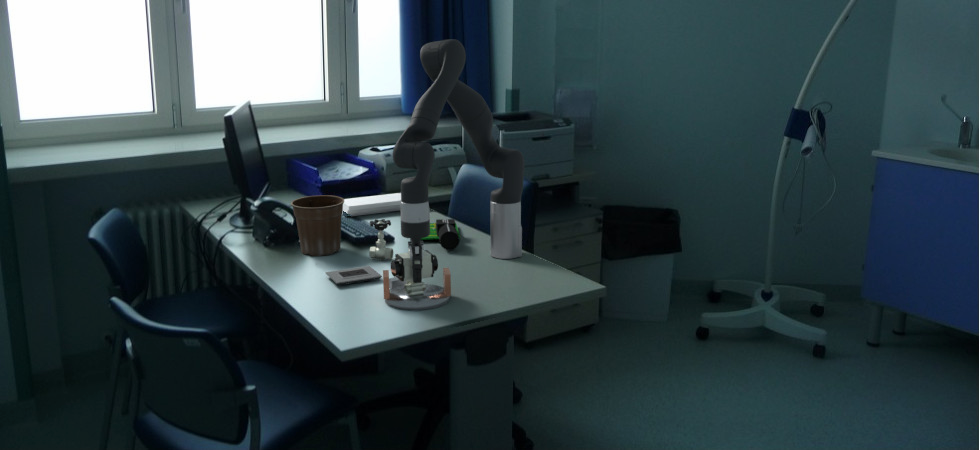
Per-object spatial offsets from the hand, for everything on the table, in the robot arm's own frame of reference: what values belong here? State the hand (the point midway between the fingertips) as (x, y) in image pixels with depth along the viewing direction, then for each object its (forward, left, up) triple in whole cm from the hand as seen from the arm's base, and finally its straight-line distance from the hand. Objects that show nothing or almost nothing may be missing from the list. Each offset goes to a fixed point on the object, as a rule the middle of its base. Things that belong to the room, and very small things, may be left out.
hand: (416, 277), depth 235 cm
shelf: (+8, -97, -7) cm, 98 cm away
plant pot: (+28, -49, -6) cm, 57 cm away
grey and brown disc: (0, 0, -6) cm, 6 cm away
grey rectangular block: (+5, -12, -6) cm, 14 cm away
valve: (+9, -37, -6) cm, 39 cm away
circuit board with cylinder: (-9, -57, -6) cm, 58 cm away
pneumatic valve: (0, 0, -5) cm, 5 cm away
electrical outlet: (+17, -19, -7) cm, 26 cm away
